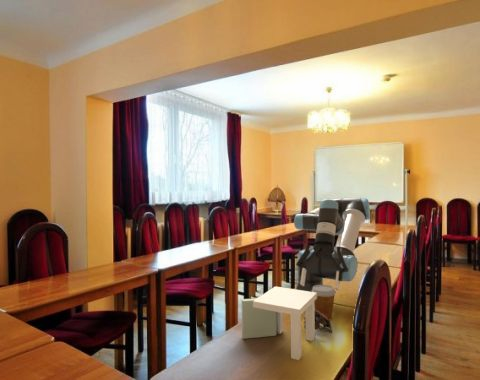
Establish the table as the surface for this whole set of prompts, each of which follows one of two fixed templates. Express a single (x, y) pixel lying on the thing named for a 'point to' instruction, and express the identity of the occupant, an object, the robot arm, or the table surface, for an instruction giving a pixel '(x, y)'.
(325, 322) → the brown curved piece
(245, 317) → the panel
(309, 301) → the stool
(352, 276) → the robot arm
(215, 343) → the table surface
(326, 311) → the disposable coffee cup
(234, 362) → the table surface
